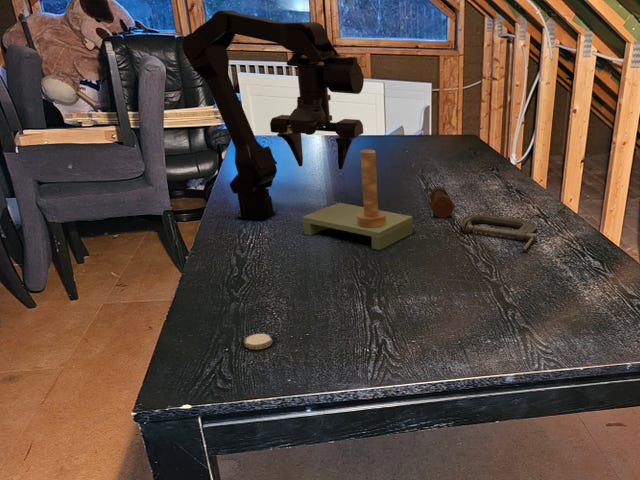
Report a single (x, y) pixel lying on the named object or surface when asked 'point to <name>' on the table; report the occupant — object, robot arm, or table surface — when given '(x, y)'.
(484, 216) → the c clamp
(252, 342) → the tan bottle cap
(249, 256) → the table surface
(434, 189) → the bolt
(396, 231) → the shelf
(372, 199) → the wooden peg stand
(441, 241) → the table surface
